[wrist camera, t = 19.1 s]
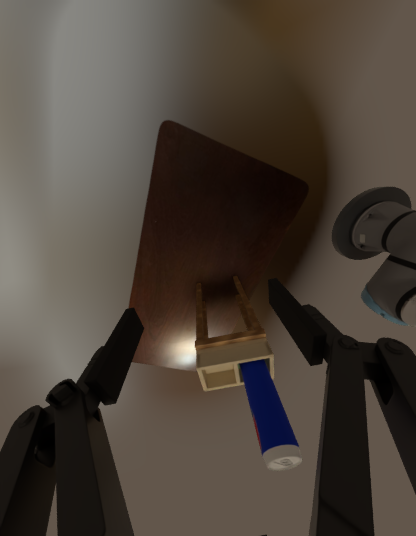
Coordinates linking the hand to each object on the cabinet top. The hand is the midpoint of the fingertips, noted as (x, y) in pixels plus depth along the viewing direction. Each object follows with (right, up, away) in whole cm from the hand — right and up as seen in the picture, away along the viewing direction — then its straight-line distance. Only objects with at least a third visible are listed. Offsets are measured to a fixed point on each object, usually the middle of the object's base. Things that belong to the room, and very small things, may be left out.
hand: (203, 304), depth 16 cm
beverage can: (+10, -16, +19) cm, 27 cm away
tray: (+6, -16, +20) cm, 26 cm away
